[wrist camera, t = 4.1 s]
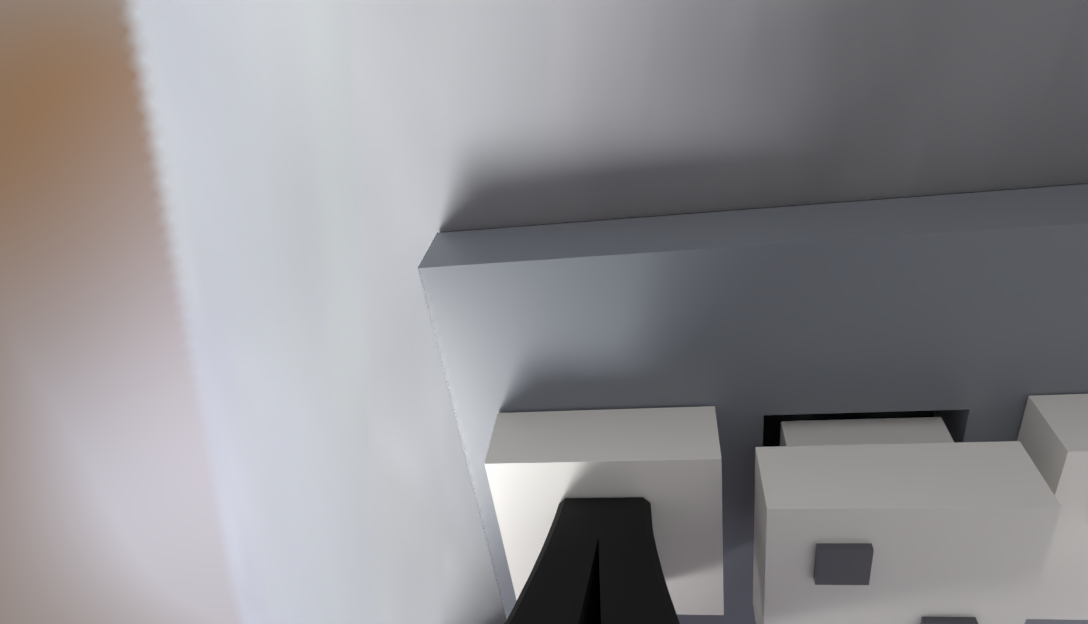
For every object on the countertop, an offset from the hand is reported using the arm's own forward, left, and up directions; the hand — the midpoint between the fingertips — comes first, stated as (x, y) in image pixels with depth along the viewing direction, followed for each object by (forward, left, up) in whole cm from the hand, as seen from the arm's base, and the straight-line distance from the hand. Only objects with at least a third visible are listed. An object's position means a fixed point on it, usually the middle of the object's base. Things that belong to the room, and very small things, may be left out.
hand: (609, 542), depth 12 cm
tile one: (0, 0, -3) cm, 3 cm away
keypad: (0, -4, -2) cm, 5 cm away
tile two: (0, -4, -2) cm, 5 cm away
